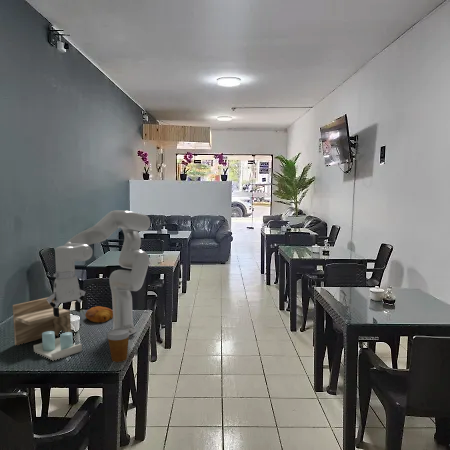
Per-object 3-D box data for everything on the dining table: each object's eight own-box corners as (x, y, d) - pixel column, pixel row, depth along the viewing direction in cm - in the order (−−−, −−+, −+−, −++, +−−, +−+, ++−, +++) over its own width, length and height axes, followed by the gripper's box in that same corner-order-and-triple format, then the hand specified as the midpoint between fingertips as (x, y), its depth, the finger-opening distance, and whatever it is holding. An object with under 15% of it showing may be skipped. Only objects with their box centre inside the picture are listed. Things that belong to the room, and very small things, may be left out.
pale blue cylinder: (75, 350, 191) (74, 333, 190) (64, 353, 187) (63, 337, 186) (69, 347, 194) (68, 331, 193) (58, 350, 190) (57, 334, 189)
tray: (82, 350, 191) (81, 332, 191) (52, 361, 181) (51, 342, 180) (63, 343, 202) (62, 325, 201) (33, 352, 191) (32, 334, 190)
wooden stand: (71, 339, 206) (69, 300, 204) (30, 352, 191) (28, 310, 189) (55, 333, 216) (53, 296, 214) (15, 344, 200) (12, 305, 198)
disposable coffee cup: (110, 355, 186) (108, 328, 185) (132, 354, 187) (131, 327, 186) (105, 364, 177) (104, 336, 175) (129, 363, 177) (128, 335, 176)
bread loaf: (92, 328, 228) (92, 315, 226) (82, 318, 240) (81, 304, 238) (118, 322, 237) (118, 308, 235) (106, 312, 249) (106, 299, 247)
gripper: (50, 279, 175) (52, 320, 176) (88, 272, 187) (90, 311, 189) (41, 277, 180) (43, 316, 181) (79, 270, 192) (81, 308, 194)
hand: (67, 313), depth 185 cm, fingers open, 9 cm apart
